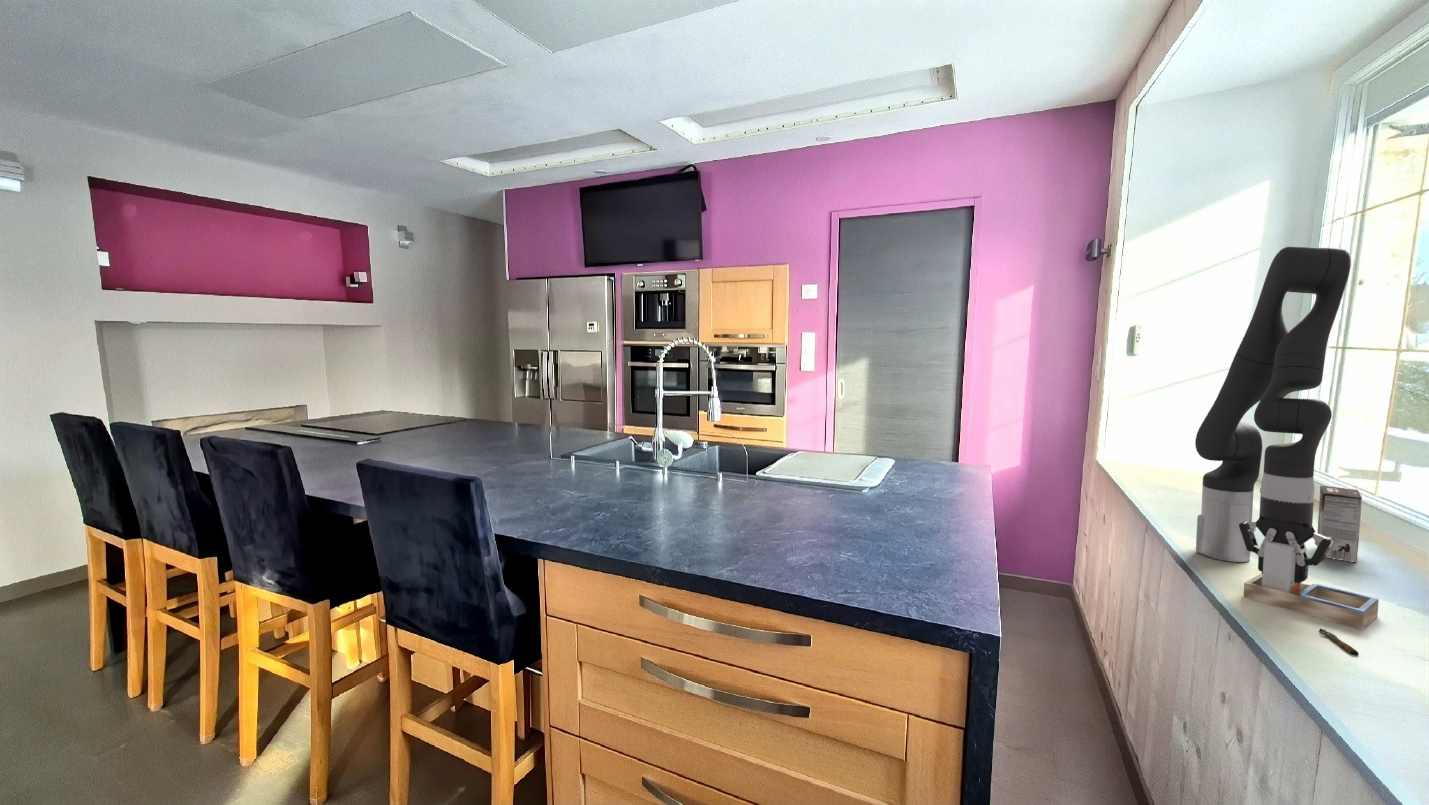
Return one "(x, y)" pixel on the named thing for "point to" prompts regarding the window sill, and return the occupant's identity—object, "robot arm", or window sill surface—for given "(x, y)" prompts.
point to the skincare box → (1280, 568)
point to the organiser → (1318, 602)
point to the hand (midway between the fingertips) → (1281, 577)
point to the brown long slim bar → (1339, 642)
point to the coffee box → (1340, 520)
